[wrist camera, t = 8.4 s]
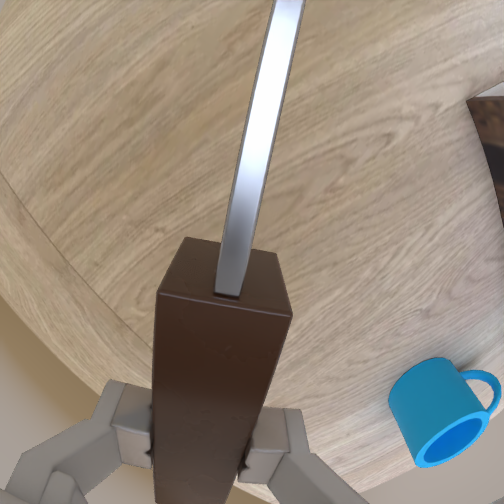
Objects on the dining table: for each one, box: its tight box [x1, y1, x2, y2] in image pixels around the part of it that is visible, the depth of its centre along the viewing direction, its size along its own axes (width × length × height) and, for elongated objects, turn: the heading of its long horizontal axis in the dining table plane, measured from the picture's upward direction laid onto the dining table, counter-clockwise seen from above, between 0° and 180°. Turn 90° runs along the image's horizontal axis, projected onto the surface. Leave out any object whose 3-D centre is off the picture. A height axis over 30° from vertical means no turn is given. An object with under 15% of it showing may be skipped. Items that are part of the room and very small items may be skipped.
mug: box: [388, 358, 501, 468], centre depth 24 cm, size 12×8×8 cm
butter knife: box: [152, 0, 306, 504], centre depth 6 cm, size 2×20×3 cm, turn 168°
